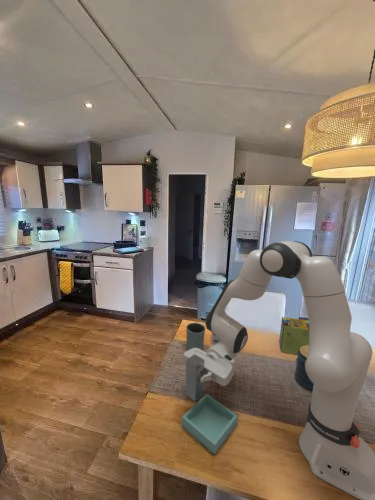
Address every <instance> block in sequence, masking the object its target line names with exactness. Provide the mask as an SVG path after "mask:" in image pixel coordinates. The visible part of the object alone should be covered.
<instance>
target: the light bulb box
mask: <svg viewBox="0 0 375 500" xmlns="http://www.w3.org/2000/svg"><path fill="white" fill-rule="evenodd" d="M211 340H212V341H211V342H212V343H211V344H212V345H214V344H217V343H218V342H219V341H220V340H221V338H219V337H218V336H217V335H216V334H214V333H212V339H211Z"/></svg>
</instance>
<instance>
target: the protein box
mask: <svg viewBox="0 0 375 500" xmlns="http://www.w3.org/2000/svg"><path fill="white" fill-rule="evenodd" d="M278 341H279V348H280V352H281V353H285V354H290V355H296V356H297V353H298V351H299V350H300V348H301V347H302V346H305V345H309V319H300V318H293V317H286V316H285V317H284V316H282V317H281V323H280V332H279V340H278Z"/></svg>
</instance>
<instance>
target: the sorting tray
mask: <svg viewBox="0 0 375 500" xmlns="http://www.w3.org/2000/svg"><path fill="white" fill-rule="evenodd" d="M203 395H204V396H203ZM203 395H202V397H200V398H199V400H198V401H196V403H195V404H194V405H193V406H192V407H191V408H190V409H188V410H187V411H186V412H185V414H183V415H182V417H181V427H182V428H183V429H184V430H185V431H186V432H187V433H189V435H191V436H192V437H193V438H194V439H195V440H196V441H198V442H199V443H200V445H202V446H203V447H205V449H207V451H209V452H210V453H211V454H212V455H213V456H215V455H216V454H217V452H218V451H219V450H220V449H221V447H222V445H224V443H225V442H226V441H227V439H228V438H229V436H230V435H231V434H232V432H234V430H235V429H236V427H237V426H238V423H239V422H238V421H239V415H238V414H237V413H235V412H234V411H232V410H231V409H229V407H226V406H225V405H224V404H222V403H221V402H219V401H218V400H217V399H215V398H214V397H212V396H211V395H209V394H208V393H205V394H203Z"/></svg>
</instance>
